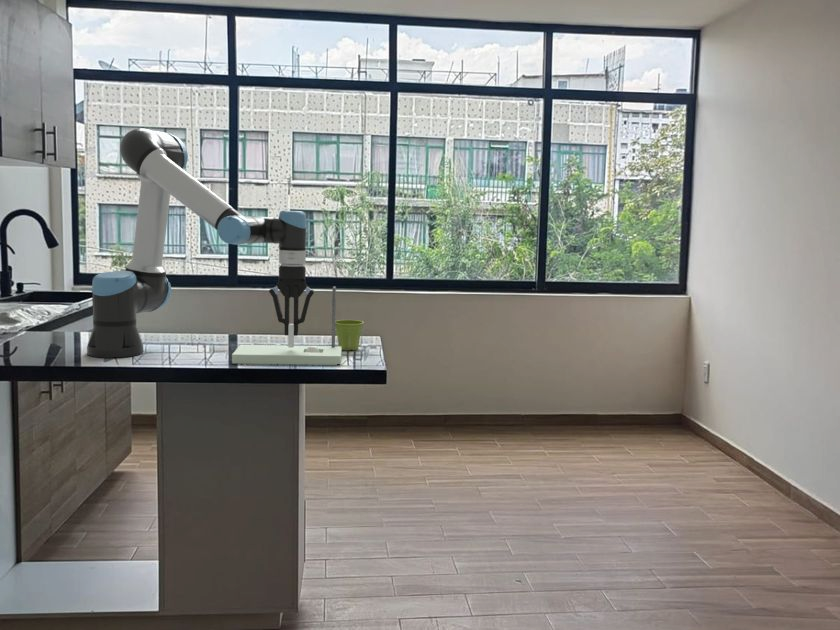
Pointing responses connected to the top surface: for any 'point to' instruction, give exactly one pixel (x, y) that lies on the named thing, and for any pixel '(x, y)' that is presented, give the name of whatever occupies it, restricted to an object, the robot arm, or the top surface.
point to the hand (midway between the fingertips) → (291, 346)
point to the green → (291, 351)
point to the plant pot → (348, 333)
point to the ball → (312, 349)
